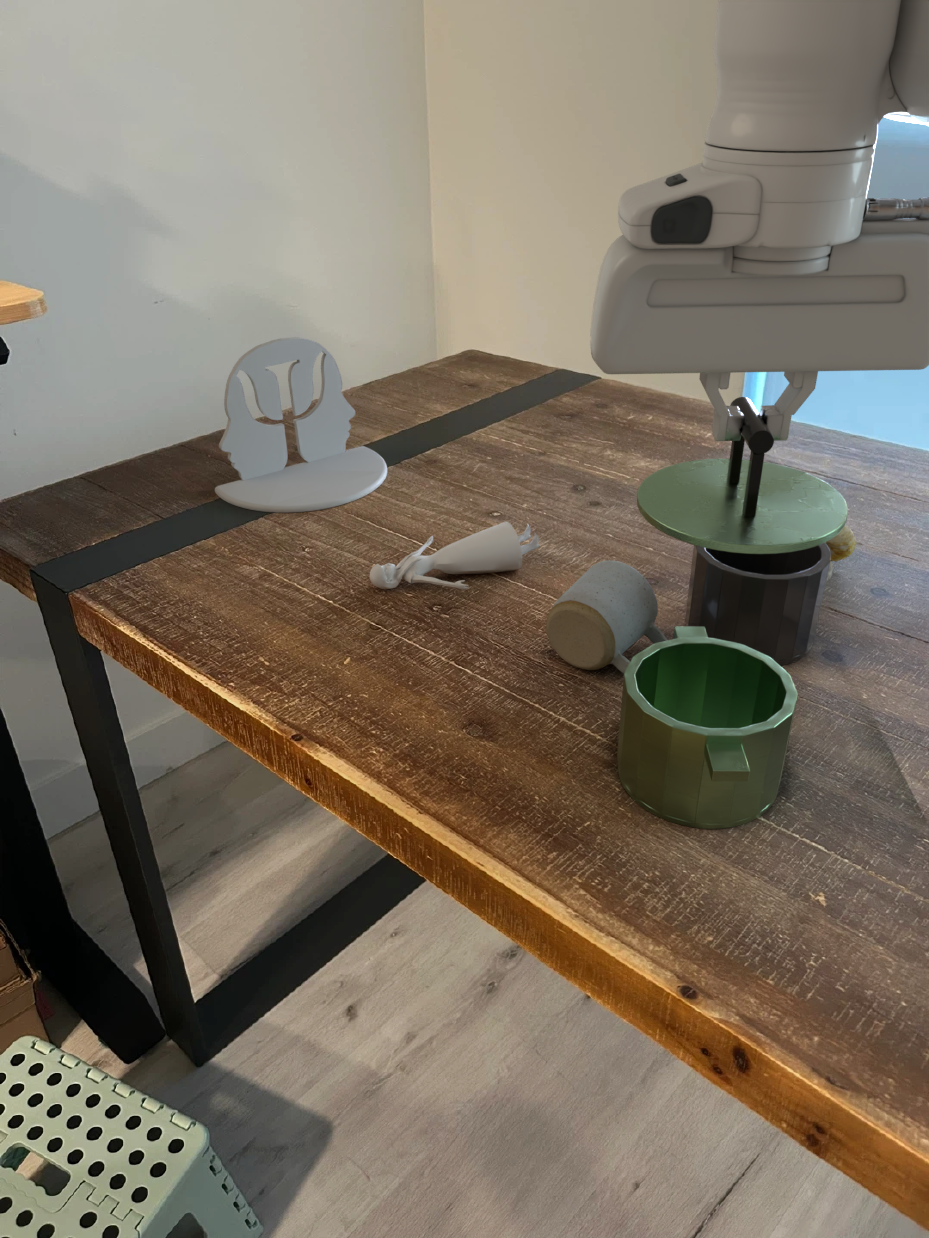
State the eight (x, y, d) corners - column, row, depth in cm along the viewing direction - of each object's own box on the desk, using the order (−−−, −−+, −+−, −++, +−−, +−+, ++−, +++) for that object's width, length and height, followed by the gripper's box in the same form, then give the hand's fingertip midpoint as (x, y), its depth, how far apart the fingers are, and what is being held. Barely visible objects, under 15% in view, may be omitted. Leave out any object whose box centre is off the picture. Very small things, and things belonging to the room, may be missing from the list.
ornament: (365, 448, 131) (355, 323, 122) (420, 480, 122) (414, 347, 113) (212, 491, 120) (189, 357, 111) (260, 529, 111) (239, 386, 102)
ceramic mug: (538, 660, 88) (541, 586, 84) (582, 619, 93) (587, 548, 89) (645, 700, 83) (654, 624, 79) (685, 655, 88) (696, 582, 84)
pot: (752, 705, 82) (766, 619, 77) (805, 858, 67) (827, 763, 63) (607, 703, 82) (614, 618, 78) (629, 855, 68) (639, 761, 63)
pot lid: (813, 473, 69) (830, 377, 66) (872, 563, 58) (897, 453, 54) (626, 474, 70) (632, 379, 66) (649, 564, 59) (658, 455, 55)
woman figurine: (556, 544, 97) (382, 587, 93) (557, 582, 99) (387, 626, 95) (512, 497, 106) (352, 535, 102) (514, 533, 109) (358, 571, 105)
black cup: (795, 600, 96) (811, 517, 91) (828, 668, 86) (847, 579, 81) (676, 600, 96) (685, 517, 92) (695, 667, 87) (707, 579, 82)
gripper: (951, 187, 56) (900, 417, 63) (592, 195, 57) (583, 421, 64) (998, 206, 51) (936, 455, 58) (602, 215, 52) (590, 459, 59)
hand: (748, 438), depth 61 cm, fingers closed on pot lid
